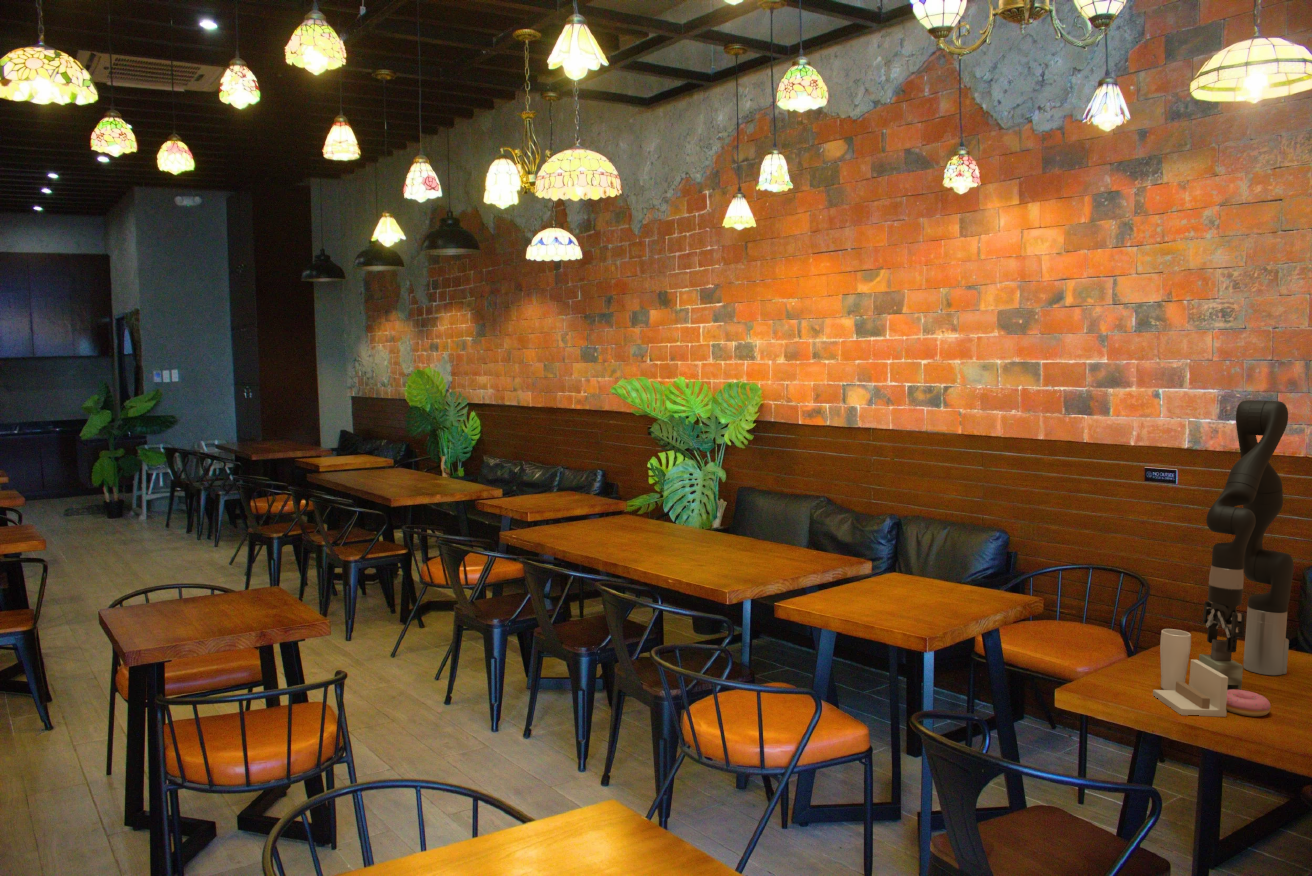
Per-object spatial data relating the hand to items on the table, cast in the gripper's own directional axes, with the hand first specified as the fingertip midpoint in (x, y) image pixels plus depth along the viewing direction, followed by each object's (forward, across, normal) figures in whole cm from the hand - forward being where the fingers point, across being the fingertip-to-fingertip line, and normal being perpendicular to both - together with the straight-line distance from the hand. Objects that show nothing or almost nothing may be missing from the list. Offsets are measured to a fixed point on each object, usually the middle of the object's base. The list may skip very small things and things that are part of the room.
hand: (1221, 647), depth 245 cm
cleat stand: (+12, -12, +13) cm, 21 cm away
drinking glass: (+12, -1, +12) cm, 17 cm away
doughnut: (+12, -14, +2) cm, 18 cm away
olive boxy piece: (+11, 0, 0) cm, 11 cm away
